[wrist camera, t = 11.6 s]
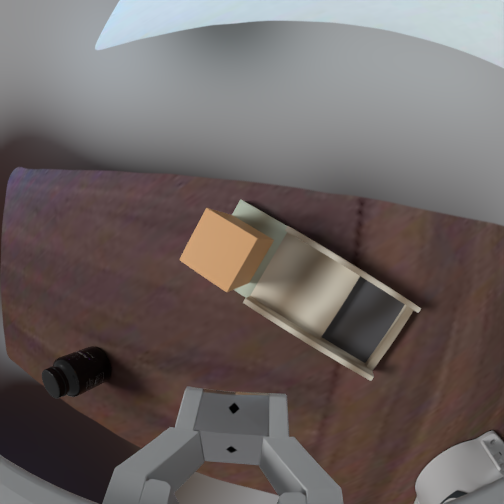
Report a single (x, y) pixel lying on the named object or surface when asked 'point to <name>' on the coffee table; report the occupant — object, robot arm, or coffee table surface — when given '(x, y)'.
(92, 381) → the supplement bottle
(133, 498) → the robot arm
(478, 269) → the coffee table surface
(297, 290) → the chute
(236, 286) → the orange block
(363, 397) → the coffee table surface
